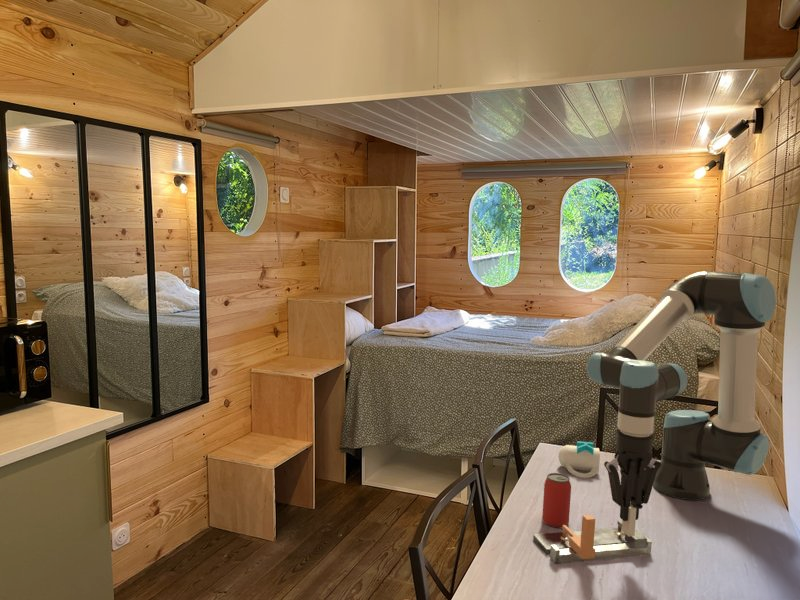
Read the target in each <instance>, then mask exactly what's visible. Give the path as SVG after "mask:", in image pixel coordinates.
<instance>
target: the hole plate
mask: <svg viewBox="0 0 800 600" xmlns="http://www.w3.org/2000/svg"><path fill="white" fill-rule="evenodd" d="M571 531H572V532H573V533H574V534H575V535H576V536H581V530H571ZM569 537H570V536H569V535H568V534H567V533H566V537H563V531H559V532H558V531H557V532H547V533H534V534H533V538H532V539H533V541H534V542H535V543H536V544H537V545H538V547H539V548H540V549H541V550H542V551H543V552H544V553H545V554H546V555H550V552H551V545H556V546H557V547H558V548H559V549H568V548H571V547H570V546H569ZM623 543H627V542H626V541H625V533H624V532H623V531H622V527H621V532H618V526H617V527H607V528H606V527H603V528H595V532H594V546H601V545H612V544H623Z"/></svg>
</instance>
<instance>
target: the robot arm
mask: <svg viewBox="0 0 800 600" xmlns="http://www.w3.org/2000/svg"><path fill="white" fill-rule="evenodd" d="M776 302H777V299H776V293H775V288H774V286H773V283H772V282H771V281H770V279H769V278H767V277H766V276H764V275H760V274H754V273H749V272H733V271H732V272H731V271H713V270H702V271H697V272H694V273H693V272H692V273H691V274H688V275H687V276H684V277H682V278H679V280H676V281H675V282H673V283H672V284H670V285H669V286H668V287H667V288H665V290H664V291H662V293H660V295H659V297H658V302H657V303H656V304H655V305H654V306H653V307H652V308H651V309H650V310H649V311H648V312H647V313H646V314H645V315H644V316H643V317H642V318H641V319H640V320H639V321H638V322H637V323H636V324H635V325H634V326H633V327H632V328H631V329H630V331H628V332H627V333H626V334H625V335H624V337H622V338H621V340H620V341H619V342H617V343H616V344H615V345H614V347H613V348H612V349H610V350H609V351H608V352H607V353H606V352H595V353H593V354H591V355H590V357H589V359H588V361H587V364H586V373H587V377H588V378H589V380H590V381H592V382H595V383H596V384H600V385H602V386H607V387H612V388H617V389H619V396H618V397H619V398H618V399H619V401H618V410H617V411H618V412H617V424H616V425H617V428H618V429H617V430H616V438H615V439H616V440H615V446H616V452H615V453H614V459H612V460H611V461H604V464H603V465H604V467H605V469H606V471H607V474H608V479H609V480H608V481H609V486H610V487H609V488H610V492H611V494H610V495H611V498H612V501H613V502H614V503H615V504H616V505H618V506H619V518H620V520H621V521H622V531H623V532H624V533H625V534H626V535H627V536H628V537H629V536H634V535H635V530H636V522H637V520H639V517H640V516H639V515H640V513H639V512H640V510H642V509H643V506H644V505H645V504H648V503H649V500H650V496H651V493H652V489H653V488H655V490H657V491H658V492H660V493H662V494H664V495H667V496H670V497H674V498H678V499H681V500H690V501H692V500H693V501H697V500H698V501H699V500H705V499H707V498H709V497H710V492H711V484H710V483H709V478H708V474H707V471H706V463H707V464H710V465H713V466H716V467H719V468H722V469H725V470H728V471H732V472H734V473H736V474H737V473H740V474H743V475H746V476H752V475H754V474H756V473H758V471H759V470H760V469H761V468H762V466H763V464H764V462H765V461H766V458H767V456H768V453H769V449H770V439H769V436H768V435H766V434H765V433H761V432H762V431H761V429H762V428H761V427H762V425H761V423H760V421H758V420H757V419H756V418H755V411H756V408H755V407H756V388H757V387H756V383H757V363H758V361H757V360H758V339H759V337H758V336H759V332H760V331H761V330H763V329H764V328H765V326H766V323H767V322H769V321H771V320H772V319H773V317H774V315H775V309H776V307H777V303H776ZM698 314H699V315H700V314H704V315H709V316H714V317H713V318H714V323H713V324H714V326H715V327H717V329H718V330H719V331H720V332H719V334H720V336H719V337H720V338H719V365H718V366H719V370H718V371H719V372H718V373H719V374H718V401H717V402H718V405H717V406H718V407H717V409H718V410H717V414H716V415H715V416H713V417H712V418H711V415H710V414H709V413H708V412H705V411H702V410H701V411H700V410H696V409H695V410H694V409H693V410H692V409H678V410H671V411H669V412H668V413H666V414H665V417H664V421H663V431H662V432H663V433H662V443H661V444H662V445H661V456H660V458H661V459H660V461H659V460H657V459H656V458H653V454H652V451H653V446H654V445H653V444H654V435H653V433H654V432H655V424H656V423H655V421H656V419H655V418H656V406H657V405H656V404H657V402H659V401H661V400H662V401H663V400H666V399H670V398H675V397H677V396H678V395H680V394H682V393H684V392H685V390H686V388H687V386H688V382H689V381H688V376H687V372H686V371H685V370H684V369H683V368H682V366H680V365H679V364H676V363H667V362H665V363H662V364H659V363H654V362H652V361H649V360H647V359H648V358H649V356H650V355H651V354H652V353H653V352H654V351H655V350H656V349H657V348H658V347H659V346H660V345H661V344H662V343H663V342H664V341H665V340H666V338H668V336H670V334H671V333H672V332H673V331H674V330H675V329H676V328H677V327H678V326H679V325H680V323H681V322H682V321H687V320H690V319H691V318H692V317H693V316H694V315H698ZM710 419H711V420H710ZM619 469H620V470H619ZM618 471H619V472H618ZM619 473H620V474H619ZM643 504H644V505H643Z"/></svg>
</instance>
